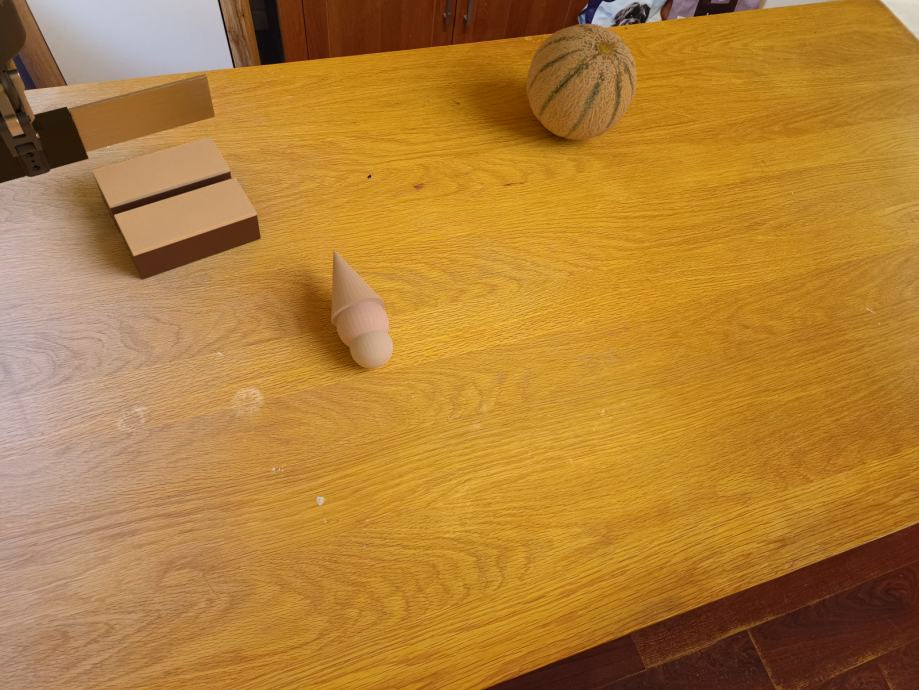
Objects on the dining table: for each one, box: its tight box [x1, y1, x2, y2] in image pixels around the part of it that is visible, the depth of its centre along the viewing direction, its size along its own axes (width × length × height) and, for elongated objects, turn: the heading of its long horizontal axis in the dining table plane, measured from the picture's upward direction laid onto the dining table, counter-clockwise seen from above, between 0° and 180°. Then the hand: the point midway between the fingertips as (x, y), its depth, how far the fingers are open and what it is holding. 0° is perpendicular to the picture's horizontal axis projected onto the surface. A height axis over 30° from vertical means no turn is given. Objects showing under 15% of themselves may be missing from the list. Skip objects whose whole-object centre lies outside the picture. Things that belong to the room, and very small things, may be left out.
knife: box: [0, 73, 216, 184], centre depth 71 cm, size 22×2×5 cm, turn 121°
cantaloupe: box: [525, 23, 638, 142], centre depth 100 cm, size 15×15×15 cm
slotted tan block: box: [91, 136, 261, 280], centre depth 86 cm, size 14×14×4 cm
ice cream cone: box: [330, 248, 394, 370], centre depth 80 cm, size 6×6×15 cm
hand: (34, 161), depth 70 cm, fingers closed on knife, 2 cm apart
